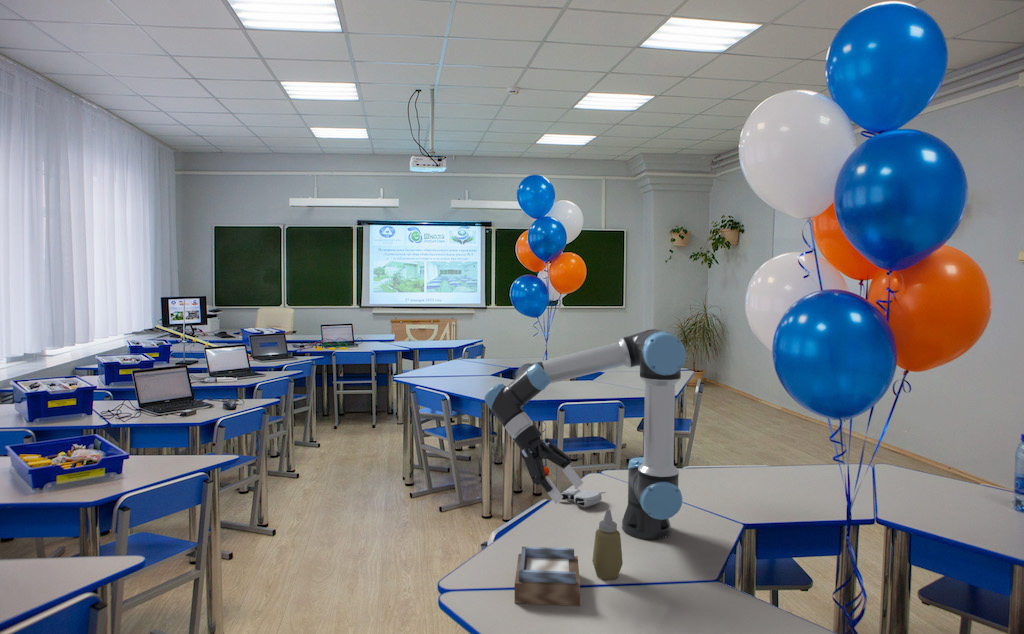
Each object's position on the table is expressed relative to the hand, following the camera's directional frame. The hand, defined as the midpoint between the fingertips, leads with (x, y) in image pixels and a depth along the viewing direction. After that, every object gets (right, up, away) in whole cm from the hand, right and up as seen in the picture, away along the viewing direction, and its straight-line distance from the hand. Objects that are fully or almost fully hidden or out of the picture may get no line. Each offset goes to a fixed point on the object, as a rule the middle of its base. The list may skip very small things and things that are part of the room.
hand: (570, 493), depth 165 cm
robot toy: (+8, -18, +49) cm, 53 cm away
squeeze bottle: (+10, -21, -4) cm, 24 cm away
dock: (-7, -21, -11) cm, 25 cm away
